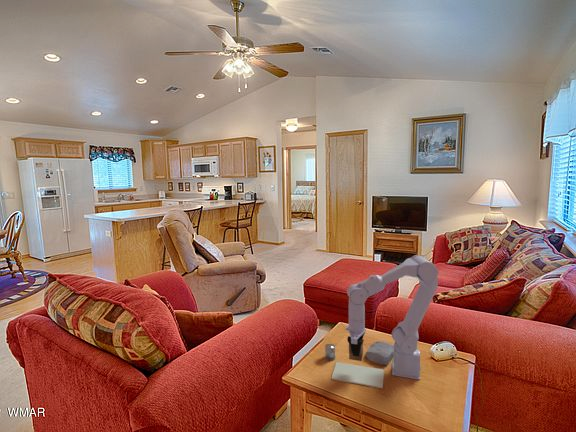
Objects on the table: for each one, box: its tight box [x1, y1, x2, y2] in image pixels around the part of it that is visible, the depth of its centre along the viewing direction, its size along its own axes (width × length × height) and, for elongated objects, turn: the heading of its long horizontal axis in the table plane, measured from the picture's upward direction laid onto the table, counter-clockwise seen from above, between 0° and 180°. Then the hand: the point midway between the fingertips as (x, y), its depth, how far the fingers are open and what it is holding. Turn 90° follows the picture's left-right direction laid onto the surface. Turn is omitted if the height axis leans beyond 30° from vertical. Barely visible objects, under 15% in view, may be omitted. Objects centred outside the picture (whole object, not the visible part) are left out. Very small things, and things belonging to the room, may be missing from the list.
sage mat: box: [330, 361, 385, 389], centre depth 119 cm, size 18×10×1 cm, turn 71°
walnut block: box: [348, 343, 364, 362], centre depth 118 cm, size 4×4×6 cm
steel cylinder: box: [324, 343, 336, 362], centre depth 130 cm, size 4×4×5 cm
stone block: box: [365, 340, 394, 366], centre depth 130 cm, size 12×5×10 cm
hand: (356, 351), depth 119 cm, fingers closed on walnut block, 4 cm apart
